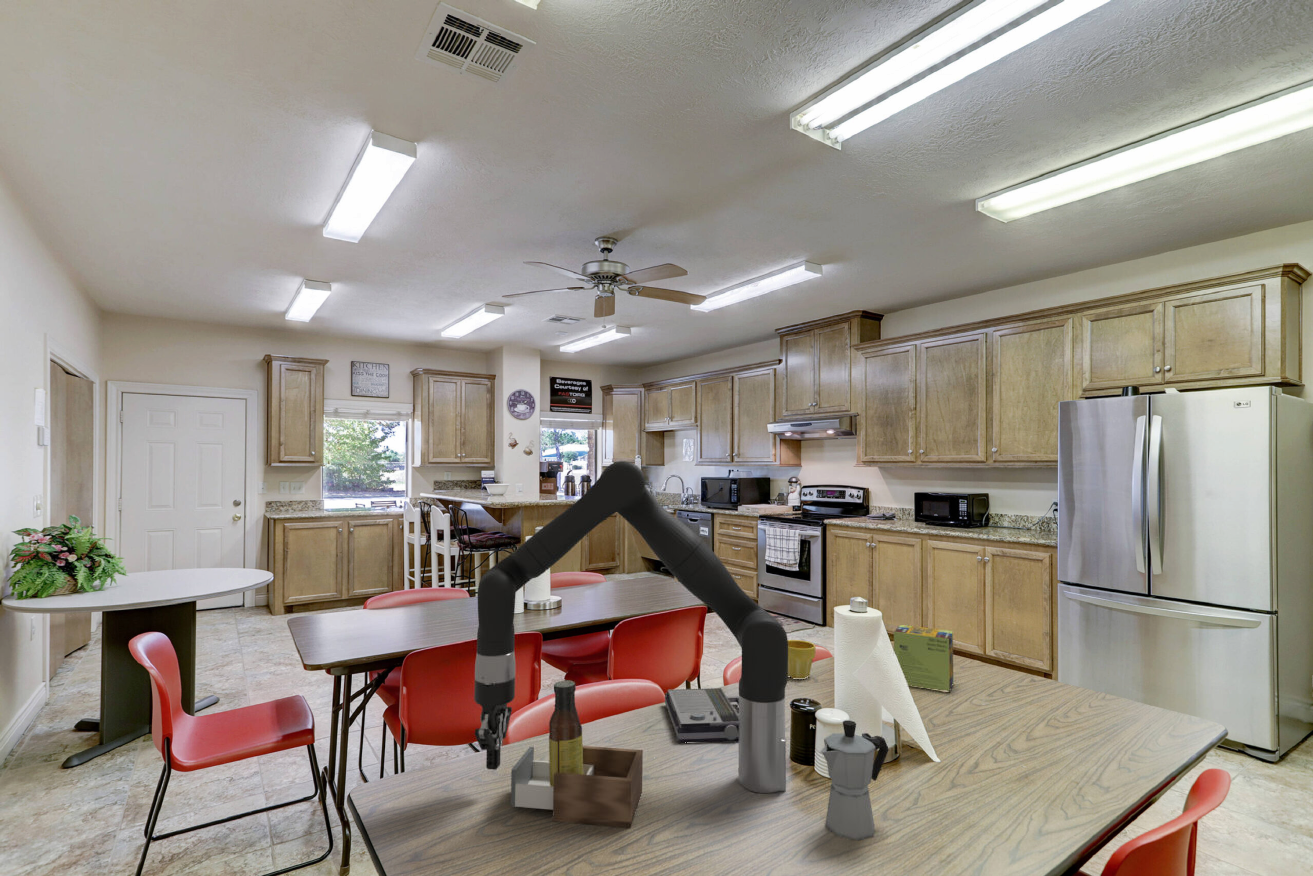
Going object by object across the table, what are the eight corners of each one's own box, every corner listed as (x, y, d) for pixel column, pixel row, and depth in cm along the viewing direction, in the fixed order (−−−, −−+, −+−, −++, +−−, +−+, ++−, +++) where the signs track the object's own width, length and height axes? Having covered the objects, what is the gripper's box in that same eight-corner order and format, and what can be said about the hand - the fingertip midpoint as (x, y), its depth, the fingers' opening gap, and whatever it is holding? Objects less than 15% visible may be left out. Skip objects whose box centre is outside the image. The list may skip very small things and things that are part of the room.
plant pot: (814, 672, 200) (814, 640, 200) (816, 683, 190) (816, 649, 190) (780, 670, 202) (780, 638, 202) (780, 680, 192) (780, 647, 192)
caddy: (642, 792, 124) (642, 750, 125) (630, 828, 112) (631, 781, 112) (572, 786, 126) (572, 745, 127) (552, 821, 114) (553, 775, 114)
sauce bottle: (588, 787, 122) (590, 680, 123) (573, 802, 116) (575, 690, 117) (558, 780, 124) (559, 676, 125) (541, 796, 118) (543, 686, 119)
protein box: (950, 694, 182) (949, 638, 182) (893, 684, 189) (892, 631, 190) (954, 683, 191) (953, 630, 191) (899, 674, 198) (899, 624, 199)
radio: (664, 687, 170) (737, 685, 173) (663, 707, 170) (737, 705, 172) (677, 722, 146) (762, 719, 149) (677, 746, 146) (762, 743, 148)
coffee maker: (837, 848, 107) (836, 737, 107) (804, 821, 115) (804, 718, 116) (905, 828, 112) (904, 724, 113) (870, 804, 121) (869, 707, 121)
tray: (593, 785, 124) (594, 751, 125) (580, 812, 114) (581, 775, 115) (529, 779, 126) (529, 746, 126) (510, 806, 116) (511, 769, 117)
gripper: (490, 664, 130) (488, 751, 129) (461, 685, 117) (459, 782, 116) (525, 665, 129) (524, 754, 128) (500, 687, 116) (498, 786, 115)
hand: (493, 767), depth 122 cm, fingers closed
